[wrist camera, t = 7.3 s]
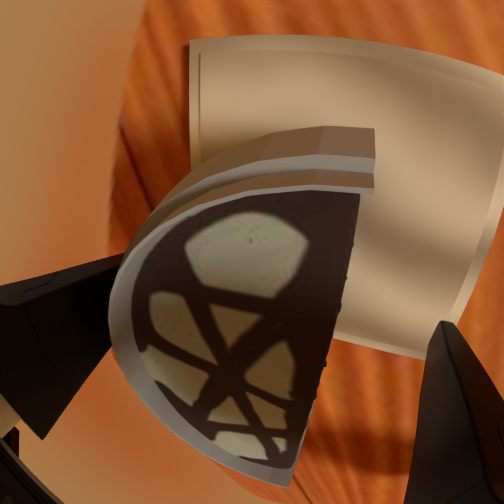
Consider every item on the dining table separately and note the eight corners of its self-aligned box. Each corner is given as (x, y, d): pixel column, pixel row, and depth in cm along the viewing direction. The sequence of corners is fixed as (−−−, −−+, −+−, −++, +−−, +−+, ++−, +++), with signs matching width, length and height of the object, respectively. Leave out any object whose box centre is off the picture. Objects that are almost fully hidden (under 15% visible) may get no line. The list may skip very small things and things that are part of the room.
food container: (229, 96, 13) (43, 137, 5) (367, 107, 12) (380, 148, 3) (232, 309, 20) (148, 443, 11) (331, 331, 18) (286, 492, 10)
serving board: (435, 340, 18) (435, 365, 16) (213, 282, 23) (197, 299, 21) (510, 84, 9) (526, 84, 8) (209, 43, 15) (187, 39, 13)
